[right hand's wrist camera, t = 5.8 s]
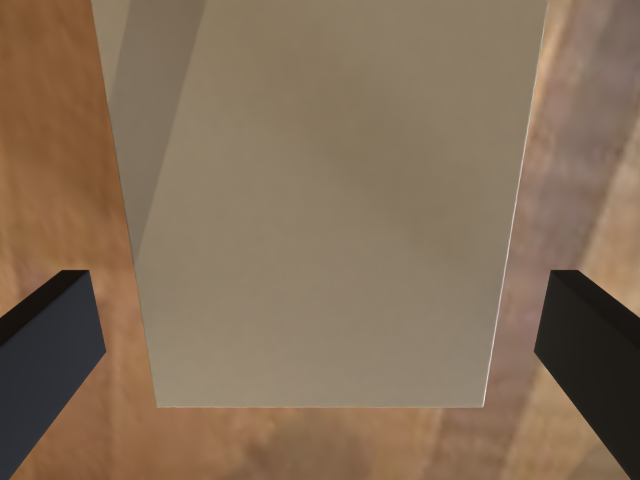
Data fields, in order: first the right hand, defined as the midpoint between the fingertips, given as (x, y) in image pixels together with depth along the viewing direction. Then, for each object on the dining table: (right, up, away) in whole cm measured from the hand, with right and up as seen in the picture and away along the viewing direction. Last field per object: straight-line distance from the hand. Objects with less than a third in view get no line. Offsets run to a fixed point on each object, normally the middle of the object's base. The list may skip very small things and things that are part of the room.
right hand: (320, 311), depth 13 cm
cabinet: (0, +8, +8) cm, 11 cm away
